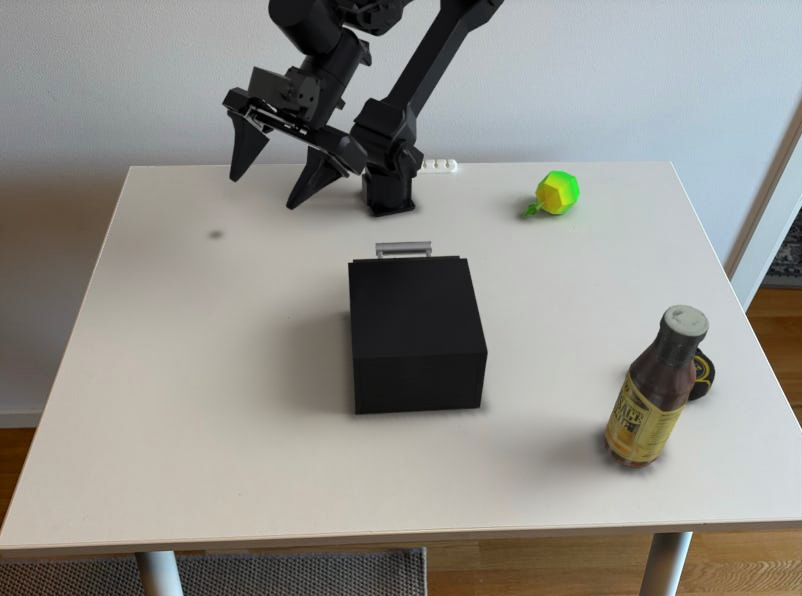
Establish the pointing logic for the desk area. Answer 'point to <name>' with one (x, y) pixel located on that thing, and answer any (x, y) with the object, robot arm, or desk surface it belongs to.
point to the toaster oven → (415, 336)
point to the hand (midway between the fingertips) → (259, 194)
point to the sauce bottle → (656, 389)
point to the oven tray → (404, 251)
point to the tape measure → (702, 375)
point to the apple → (555, 193)
